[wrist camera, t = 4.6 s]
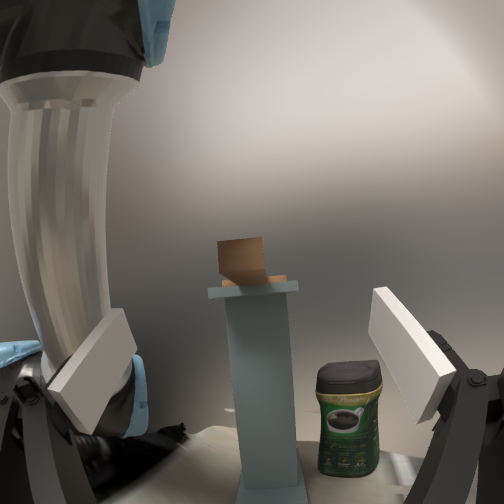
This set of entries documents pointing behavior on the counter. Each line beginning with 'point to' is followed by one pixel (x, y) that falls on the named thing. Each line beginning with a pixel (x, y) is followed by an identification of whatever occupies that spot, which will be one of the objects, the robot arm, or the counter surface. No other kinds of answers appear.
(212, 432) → the counter surface
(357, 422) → the coffee jar
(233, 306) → the stand
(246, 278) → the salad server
